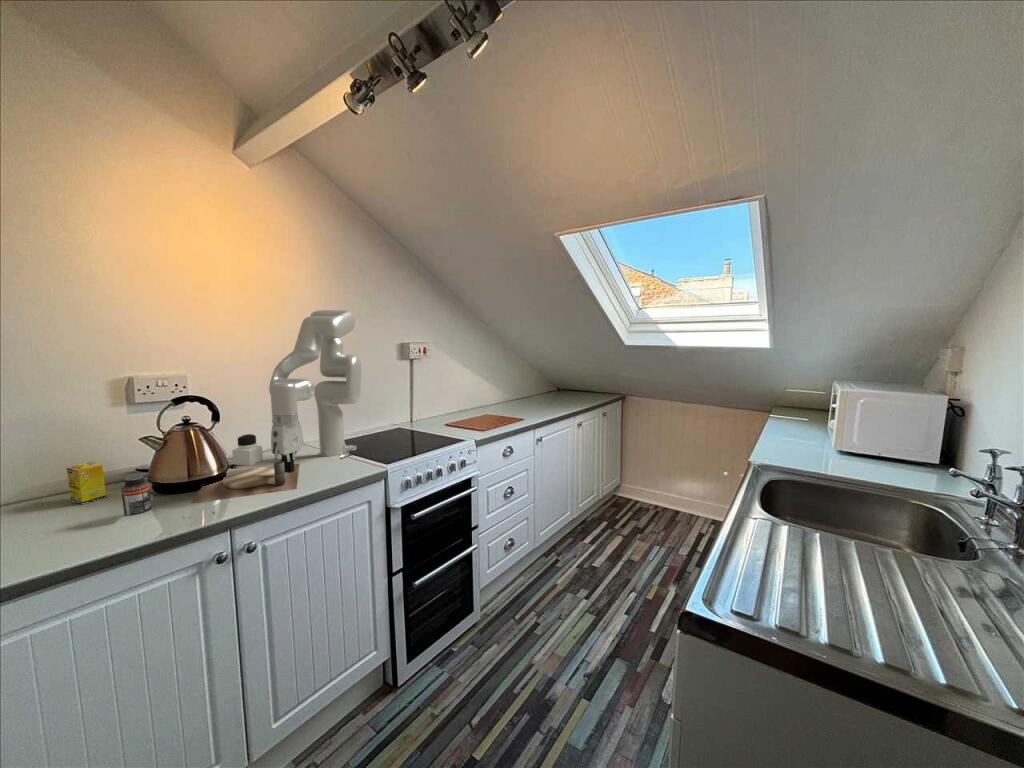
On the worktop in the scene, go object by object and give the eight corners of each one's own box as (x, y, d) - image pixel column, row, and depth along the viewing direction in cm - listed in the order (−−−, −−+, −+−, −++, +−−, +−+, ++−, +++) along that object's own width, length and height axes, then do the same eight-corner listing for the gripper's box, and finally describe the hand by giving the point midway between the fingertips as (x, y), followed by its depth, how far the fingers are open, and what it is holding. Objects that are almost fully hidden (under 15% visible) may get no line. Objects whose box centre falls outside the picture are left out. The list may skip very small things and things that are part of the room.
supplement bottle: (130, 513, 121) (125, 475, 119) (155, 509, 123) (151, 472, 121) (120, 521, 115) (115, 482, 114) (147, 518, 117) (143, 479, 116)
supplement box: (70, 502, 128) (65, 467, 126) (95, 494, 133) (91, 461, 132) (82, 505, 126) (77, 469, 124) (106, 497, 131) (102, 463, 130)
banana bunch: (211, 485, 137) (209, 464, 136) (253, 469, 152) (252, 450, 151) (263, 493, 131) (261, 471, 130) (302, 476, 146) (301, 456, 145)
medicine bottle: (263, 463, 166) (261, 433, 164) (250, 469, 159) (248, 438, 157) (246, 462, 166) (244, 432, 165) (233, 468, 159) (230, 437, 158)
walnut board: (299, 467, 161) (299, 463, 161) (296, 493, 136) (296, 488, 136) (211, 477, 149) (211, 473, 149) (190, 508, 124) (190, 503, 124)
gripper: (278, 424, 132) (282, 480, 135) (310, 415, 147) (313, 465, 149) (258, 423, 134) (262, 478, 136) (291, 413, 148) (294, 464, 151)
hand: (288, 471), depth 143 cm, fingers closed
